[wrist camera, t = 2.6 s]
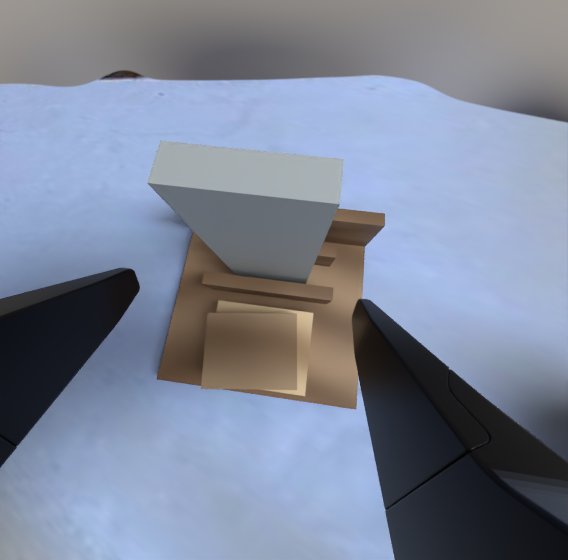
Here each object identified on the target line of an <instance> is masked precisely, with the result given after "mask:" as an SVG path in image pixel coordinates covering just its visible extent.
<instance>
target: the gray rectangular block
mask: <svg viewBox="0 0 568 560" xmlns="http://www.w3.org/2000/svg"><path fill="white" fill-rule="evenodd" d="M342 170H343V159H336V158H326V157H316V156H306V155H296V154H286V153H276V152H266V151H256V150H246V149H237V148H227V147H217V146H207V145H197V144H187V143H177V142H167V141H160V144H159V147H158V150H157V153H156V157H155V160H154V163H153V166H152V169H151V173H150V176H149V179H148V182H147V183H148V184H149V185H150V186H151V187H152V188H153V190H154V191H155V192H156V193H157V194H158V195H159V196H160V197H161V198H162V199H163V200H164V201H165V202H166V203H167V204H168V205H169V206H170V207H171V208H172V209H173V210H174V211H175V212H176V213H177V214H178V215H179V216H180V217H181V218H182V220H183V221H184V222H185V223H186V224H187V225H188V226H189V227H190V228H191V229H192V230H193V231H194V232H195V233H196V234H197V235H198V236H199V237H200V238H201V239H202V240H203V241H204V242H205V243H206V244H207V245H208V246H209V247H210V248H211V250H212V251H213V252H214V253H215V254H216V255H217V256H218V257H219V258H220V259H221V260H222V261H223V262H224V263H225V264H226V265H227V266H228V267H229V268H230V269H231V270H232V271H233V272H234V273H235V274H236V275H239V276H246V277H254V278H262V279H270V280H278V281H286V282H294V283H301V284H306V282H307V280H308V278H309V275H310V273H311V270H312V268H313V266H314V263H315V261H316V259H317V256H318V254H319V252H320V249H321V247H322V245H323V242H324V240H325V237H326V235H327V233H328V230H329V228H330V226H331V223H332V221H333V219H334V216H335V214H336V212H337V209H338V207H339V205H340V194H341V182H342Z"/></svg>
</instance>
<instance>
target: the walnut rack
mask: <svg viewBox="0 0 568 560" xmlns="http://www.w3.org/2000/svg"><path fill="white" fill-rule="evenodd" d="M384 226H385V214H383V213H374V212H365V211H356V210H347V209H337V212H336V214H335V216H334V219H333V221H332V223H331V226H330V228H329V230H328V233H327V235H326V237H325V240H324V242H323V245H322V247H321V249H320V252H319V254H318V256H317V259H316V261H315V263H314V266H313V268H312V270H311V273H310V275H309V278H308V280H307V282H306V284H301V283H294V282H286V281H278V280H270V279H262V278H254V277H246V276H239V275H236V274H235V273H234V272H233V271H232V270H231V269H230V268H229V267H228V266H227V265H226V264H225V263H224V262H223V261H222V260H221V259H220V258H219V257H218V256H217V255H216V254H215V253H214V252H213V251H212V250H211V248H210V247H209V246H208V245H207V244H206V243H205V242H204V241H203V240H202V239H201V238H200V237H199V236H198V235H197V234H196V233H195V232H194V231H193V234H192V238H191V242H190V246H189V250H188V254H187V258H186V262H185V266H184V270H183V275H182V279H181V283H180V287H179V291H178V295H177V299H176V303H175V307H174V311H173V315H172V319H171V323H170V327H169V331H168V335H167V339H166V343H165V348H164V352H163V356H162V360H161V364H160V368H159V372H158V376H157V379H159V380H165V381H172V382H179V383H185V384H192V385H198V386H201V382H202V371H203V360H204V349H205V338H206V326H207V315H208V313H216V310H217V306H218V301H219V300H220V301H228V302H235V303H243V304H250V305H258V306H265V307H273V308H280V309H288V310H295V311H303V312H310V313H313V322H312V332H311V342H310V352H309V361H308V371H307V381H306V391H305V396H300V395H294V394H287V393H280V392H274V391H267V390H258V389H225V390H231V391H238V392H244V393H251V394H258V395H264V396H271V397H277V398H284V399H291V400H297V401H304V402H310V403H317V404H324V405H330V406H337V407H343V408H350V409H356V405H357V386H358V371H357V366H356V361H355V355H354V343H353V330H352V314H353V311H354V308H355V305H356V303H357V300H358V299H362V291H363V272H364V253H365V246H366V245H367V244H368V243H369V242H370V241H371V240H372V239H373V238H374V237H375V236H376V234H377V233H378V232H379V231H380V230H381V229H382V228H383V227H384Z"/></svg>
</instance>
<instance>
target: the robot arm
mask: <svg viewBox="0 0 568 560" xmlns="http://www.w3.org/2000/svg"><path fill="white" fill-rule="evenodd" d="M139 289H140V286H139V282H138V280H137V277H136V274H135V272H134V270H132V269H129V268H117V269H114V270H110V271H106V272H102V273H98V274H94V275H91V276H87V277H83V278H79V279H75V280H71V281H68V282H64V283H60V284H56V285H52V286H48V287H45V288H41V289H37V290H33V291H29V292H25V293H22V294H18V295H14V296H10V297H6V298H2V299H0V468H1V466H2V465H3V464H4V463H5V461H6V460H7V459H8V458H9V456H10V455H11V454H12V453H13V452H14V450H15V449H16V448H17V446H18V445H19V444H20V443H21V441H22V440H23V439H24V438H25V436H26V435H27V434H28V433H29V431H30V430H31V429H32V428H33V427H34V425H35V424H36V423H37V422H38V420H39V419H40V418H41V417H42V415H43V414H44V413H45V412H46V411H47V409H48V408H49V407H50V406H51V404H52V403H53V402H54V401H55V400H56V398H57V397H58V396H59V395H60V393H61V392H62V391H63V390H64V388H65V387H66V386H67V385H68V384H69V382H70V381H71V380H72V379H73V377H74V376H75V375H76V374H77V372H78V371H79V370H80V369H81V368H82V366H83V365H84V364H85V363H86V361H87V360H88V359H89V358H90V357H91V355H92V354H93V353H94V352H95V350H96V349H97V348H98V347H99V345H100V344H101V343H102V342H103V341H104V339H105V338H106V337H107V336H108V334H109V333H110V332H111V331H112V329H113V328H114V327H115V326H116V324H117V323H118V322H119V320H120V319H121V318H122V316H123V315H124V313H125V312H126V310H127V309H128V307H129V306H130V304H131V302H132V301H133V299H134V298H135V296H136V295H137V293H138V292H139ZM352 330H353V343H354V355H355V361H356V366H357V371H358V376H359V381H360V386H361V391H362V396H363V401H364V406H365V411H366V416H367V421H368V426H369V431H370V436H371V441H372V446H373V451H374V456H375V461H376V466H377V471H378V476H379V481H380V486H381V491H382V496H383V501H384V506H385V509H386V511H385V512H386V517H387V522H388V527H389V532H390V537H391V542H392V547H393V553H394V558H395V560H568V462H567V461H566V460H565V459H563V458H562V457H561V456H559V455H558V454H557V453H556V452H554V451H553V450H552V449H550V448H549V447H548V446H546V445H545V444H544V443H543V442H541V441H540V440H539V439H537V438H536V437H535V436H533V435H532V434H531V433H530V432H528V431H527V430H526V429H524V428H523V427H522V426H520V425H519V424H518V423H517V422H515V421H514V420H513V419H511V418H510V417H509V416H507V415H506V414H505V413H504V412H502V411H501V410H500V409H499V408H497V407H496V406H495V405H493V404H492V403H491V402H490V401H488V400H487V399H486V398H485V397H483V396H482V395H481V394H480V393H478V392H477V391H476V390H475V389H474V388H472V387H471V386H470V385H469V384H468V383H466V382H465V381H464V380H463V379H462V378H461V377H459V376H458V375H457V374H456V373H455V372H454V371H452V370H449V367H448V366H446V365H445V364H444V363H443V362H442V361H441V360H439V359H438V358H437V357H436V356H435V355H434V354H432V353H431V352H430V351H429V350H428V349H427V348H425V347H424V346H423V345H422V344H421V343H420V342H418V341H417V340H416V339H415V338H414V337H413V336H411V335H410V334H409V333H408V332H407V331H406V330H404V329H403V328H402V327H401V326H400V325H399V324H397V323H396V322H395V321H394V320H393V319H392V318H390V317H389V316H388V315H387V314H386V313H385V312H383V311H382V310H381V309H380V308H379V307H378V306H376V305H375V304H374V303H373V302H372V301H370V300H368V299H358V300H357V303H356V305H355V308H354V311H353V314H352Z"/></svg>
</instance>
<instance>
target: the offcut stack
mask: <svg viewBox="0 0 568 560" xmlns="http://www.w3.org/2000/svg"><path fill="white" fill-rule="evenodd" d="M312 322H313V313H310V312H303V311H295V310H288V309H280V308H273V307H265V306H258V305H250V304H243V303H235V302H228V301H220V300H219V301H218V306H217V310H216V313H208V315H207V326H206V338H205V349H204V360H203V371H202V382H201V389H258V390H267V391H274V392H280V393H287V394H294V395H300V396H305V391H306V381H307V371H308V361H309V352H310V342H311V332H312Z"/></svg>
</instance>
